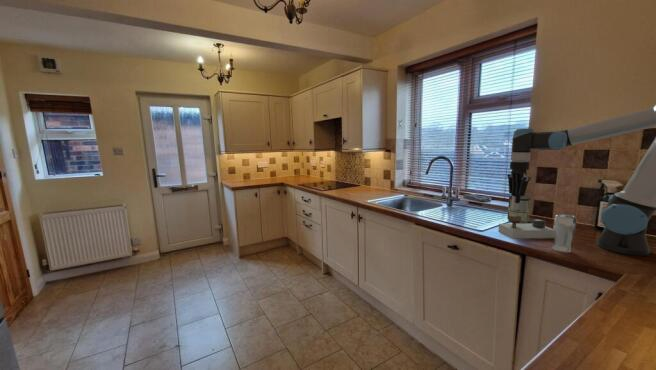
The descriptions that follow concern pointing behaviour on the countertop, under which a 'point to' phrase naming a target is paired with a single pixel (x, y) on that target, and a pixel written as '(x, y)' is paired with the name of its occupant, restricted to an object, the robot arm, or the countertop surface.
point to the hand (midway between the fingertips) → (514, 208)
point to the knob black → (538, 223)
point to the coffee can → (520, 208)
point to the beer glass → (563, 232)
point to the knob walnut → (514, 220)
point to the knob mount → (526, 231)
